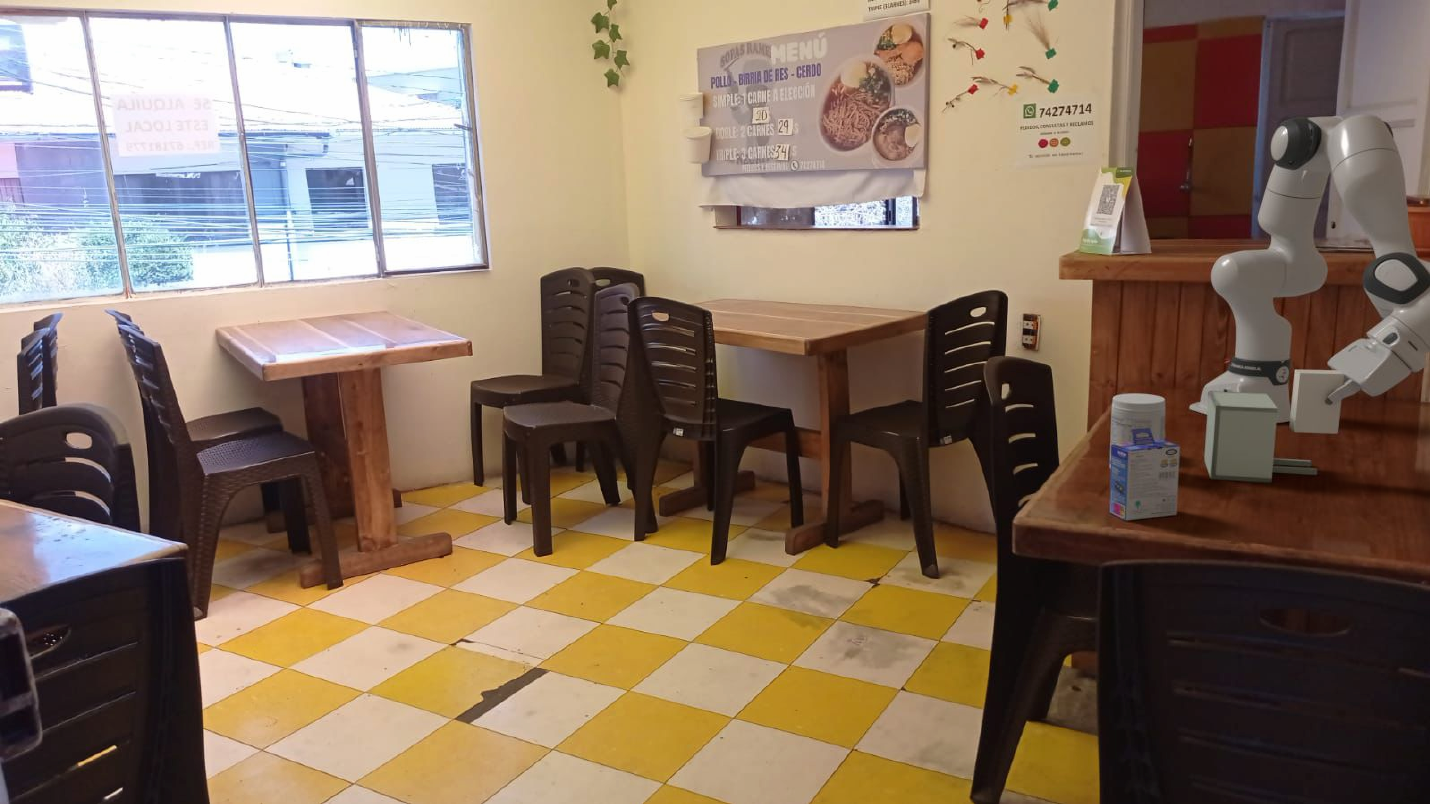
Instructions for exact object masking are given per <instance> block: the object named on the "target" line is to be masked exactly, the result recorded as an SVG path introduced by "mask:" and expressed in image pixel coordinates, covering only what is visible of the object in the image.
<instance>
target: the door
mask: <svg viewBox="0 0 1430 804" xmlns="http://www.w3.org/2000/svg"><path fill="white" fill-rule="evenodd" d="M1343 381H1344V374H1343V373H1342V372H1340V371H1338V370H1332V369H1328V370H1327V369H1326V370H1325V369H1294V377H1293V384H1292V388H1293V389H1292V395H1291V404H1290V410H1291V414H1290V421H1289V426H1288V427H1289V429H1290V430H1291V431H1292V432H1294V433H1305V434H1306V433H1312V434H1333V435H1334V434H1337V435H1338V433H1339V432H1338V431H1339V424H1340V423H1339V422H1340V416H1341V406H1342V400H1341V401H1339V402H1338V403H1336V404H1335V403H1333V402H1332V401H1331V400H1329V399H1328V397H1327V394H1329V393H1330V392H1331V391H1333V390H1334V389H1335V390H1336V389H1338V388H1340V387H1341V386H1343V385H1344V383H1343Z"/></svg>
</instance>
